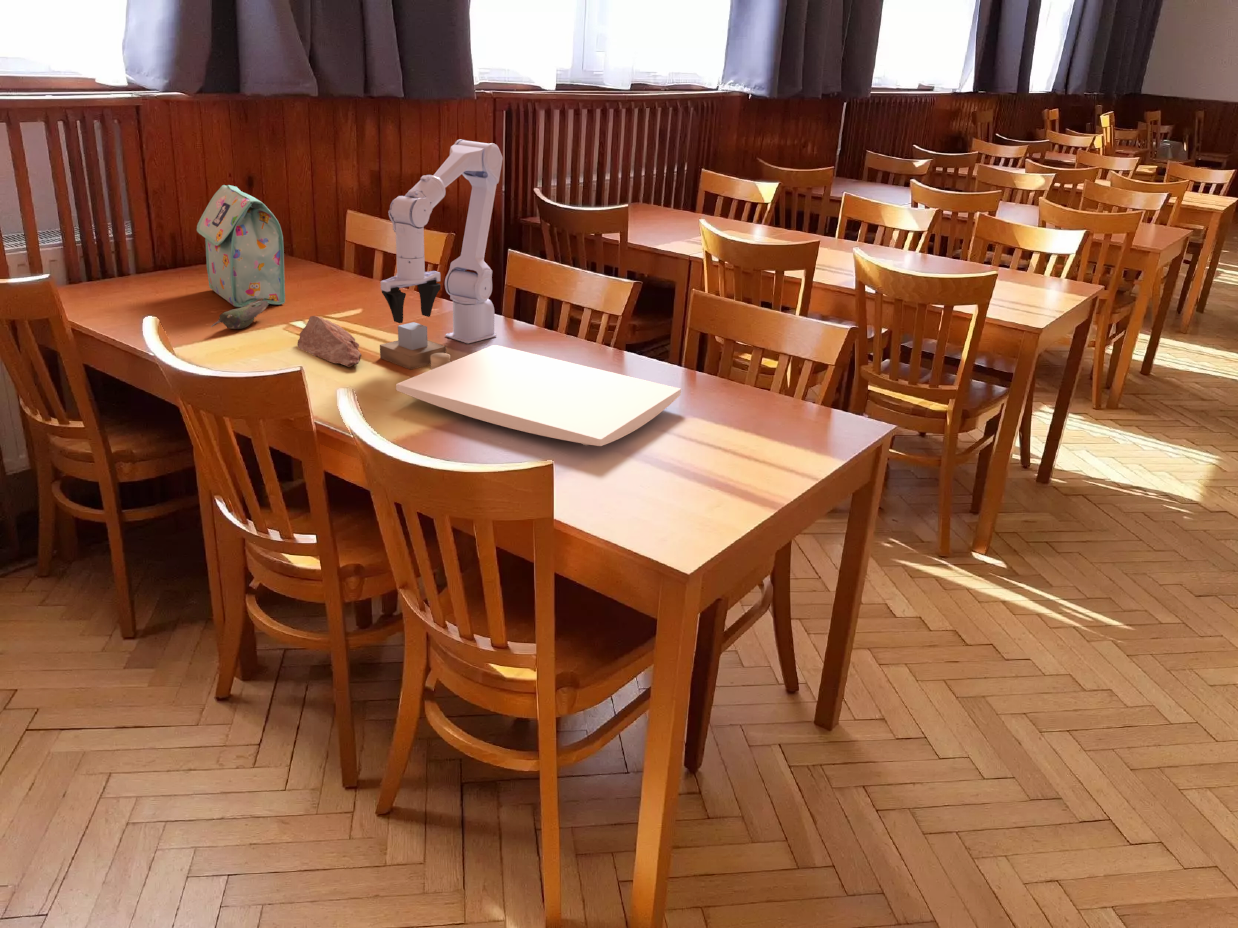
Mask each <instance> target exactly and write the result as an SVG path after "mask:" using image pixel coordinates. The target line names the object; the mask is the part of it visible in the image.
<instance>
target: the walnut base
mask: <svg viewBox="0 0 1238 928" xmlns="http://www.w3.org/2000/svg"><path fill="white" fill-rule="evenodd" d="M434 353H446V354H447V346H445V345H443V344H440V343H437V342H433V341H430V340H428V346H426V347H422V348H418V349H414V350H410V349H407V348H404V347H402V346H399V345H398V340H395V341H390V342H386V343H383V344H379V358H380V359H382V360H384V361H387V362H390V363H392V364H394V365H397V366H400V367H402V368H405V369H408V370H413V369H417V368H420V367H421V368H422V367H424V366H427V365H431V354H434Z"/></svg>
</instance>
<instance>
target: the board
mask: <svg viewBox="0 0 1238 928" xmlns="http://www.w3.org/2000/svg"><path fill="white" fill-rule="evenodd" d="M395 386H396V387H395V390H396V391H397V392H399V393H402V394H405V395H406V396H407V395H408V396H410V397H412V398H415V399H417V400H420V401H422V402H425V403H428V404H431V405H434V406H436V407H439V408H441V409H445V410H448V411H451V412H454V413H457V414H460V415H464V416H466V417H469V418H471V419H472V418H473V419H475V420H480V421H483V422H487V423H490V424H493V425H497V426H501V427H505V428H508V429H513V430H517V431H521V432H524V433H529V434H533V435H538V436H541V437H547V438H552V439H557V440H561V441H567V442H573V443H577V444H583V445H582V446H595V447H596V446H597V447H602V446H606V445H607V444H610V443H613V442H615V441H617V440H619V439H622V438H623V437H625V436H627V435H629V434H631V433H633V432H634V431H636V430H638V429H640V428H641V427H643V426H644V425H646V424H648V422H650V421H651V420H653V419H654V418H656V417H657V416H658V415H659V414H660V413H662V412H664V411H665V409H667V408H668V407H669V406H670V405H671V404H673V403H674V401H676V400H677V398H679V397H680V396H681V394H682V388H680V387H676V386H672V385H671V386H670V385H667V384H663V383H660V382H659V383H658V382H654V381H650V380H645V379H642V378H637V377H634V376H633V377H632V376H628V375H624V374H622V373H621V374H620V373H616V372H612V371H609V370H608V371H607V370H604V369H599V368H595V367H591V366H586V365H583V364H577V363H574V362H570V361H565V360H561V359H557V358H553V357H548V356H546V355H545V356H544V355H541V354H536V353H532V352H528V351H523V350H519V349H515V348H510V347H507V346H502V345H497V344H492V345H489V346H488V347H485V348H482V349H479V350H477V351H475V352H472V353H470V354H467V355H465V356H462V357H460V358H457V359H454V360H452V361H450V363H447V364H445V365H442V366H440V367H437V368H435V369H432V370H431V369H430V370H428V371H425V372H422V373H420V374H418V375H415V376H412V377H411V378H408V379H405V380H403V381H400V382H397V383H396V384H395Z"/></svg>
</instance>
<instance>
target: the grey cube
mask: <svg viewBox="0 0 1238 928" xmlns="http://www.w3.org/2000/svg"><path fill="white" fill-rule="evenodd" d="M397 341H398V345H399V346H402V347H404V348H407V349H410V350H414V349H418V348H422V347H426V346H428V341H429V340H428V326H427V325H424V324H421V323H419V322H414V321H413V322H408V323H404V324H403V323H402V324H400V325H397Z"/></svg>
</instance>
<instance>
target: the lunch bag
mask: <svg viewBox="0 0 1238 928" xmlns="http://www.w3.org/2000/svg"><path fill="white" fill-rule="evenodd" d="M196 232H197V233H198V235H201V236H202V237H203V238H205V239H204V242H205V257H206V270H207V272H206V273H207V278H208V286H209V287H208V288H209V289H210V290H212V291H213V292H215V293H216V294H217V295H219V296H220V297H221V298H223V299H224V300H225V301H227V302H228V303H229V304H231V305H232V306H233V307H235V308H242V307H244V306H246V305H248V304H250V303H252V302H254V301H256V300H258V299H259V298H264V300H263V301H267V302H268V304H269V305H284V304H285V302H286V289H285V287H286V285H285V283H286V281H285V253H284V252H285V251H284V250H285V249H284V248H285V247H284V235H283V231H282V227H281V224H280V223H279V220H278V219H277V218H276V216H275V215H274V213H273V212H272V211H271V210H270V209H269V208H268V206H266V204H265V203H263V202H262V201H261V200H259V199H258V198H256V197H254V196H252V195H250V194H248V193H246V192H243V190H242V191H241V189H240V188H238V186H236V185H235V186H234V185H230V184H227V185H225V184H223V185H221V186H220V188H218V190H217V191H216V192H215V193H214V194H213V196H212V198H211V199H210V200H209V202H208V204H207V206H206V208H205V209H204V211H203V213H202V214H201V217H200V218H199V220H198V222H197V225H196Z"/></svg>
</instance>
